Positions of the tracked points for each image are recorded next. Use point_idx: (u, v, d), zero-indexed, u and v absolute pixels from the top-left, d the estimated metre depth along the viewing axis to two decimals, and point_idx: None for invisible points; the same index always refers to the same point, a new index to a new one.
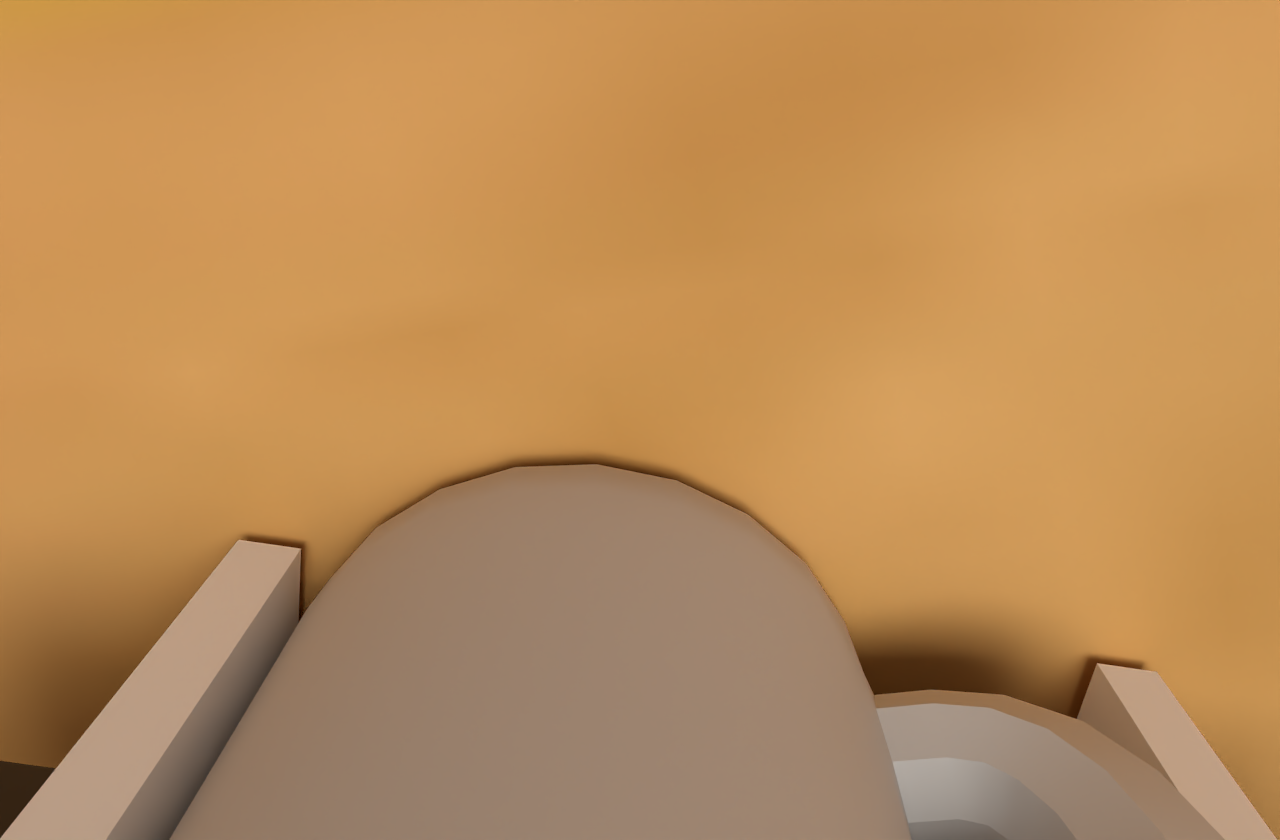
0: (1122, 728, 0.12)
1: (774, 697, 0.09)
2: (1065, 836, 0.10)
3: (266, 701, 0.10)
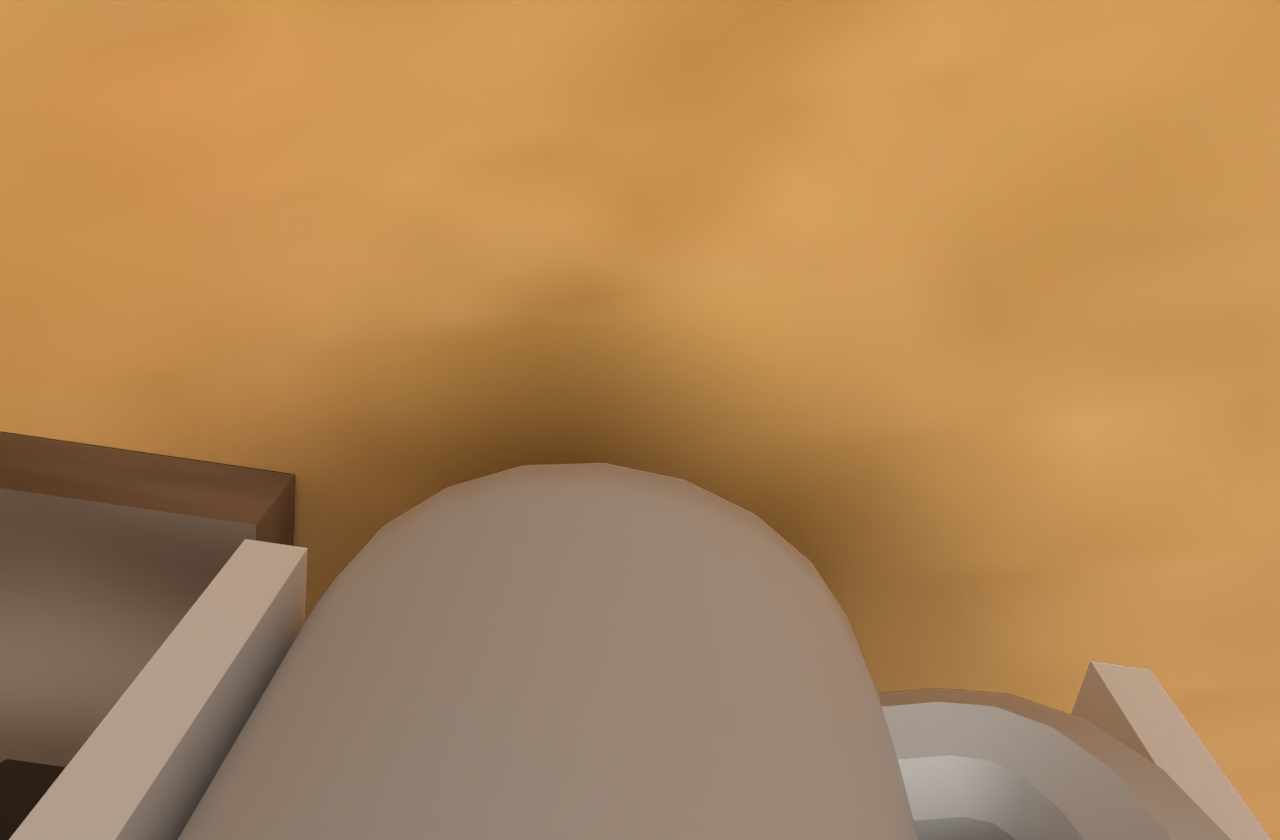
0: (1116, 725, 0.12)
1: (783, 694, 0.09)
2: (1070, 834, 0.10)
3: (277, 696, 0.10)
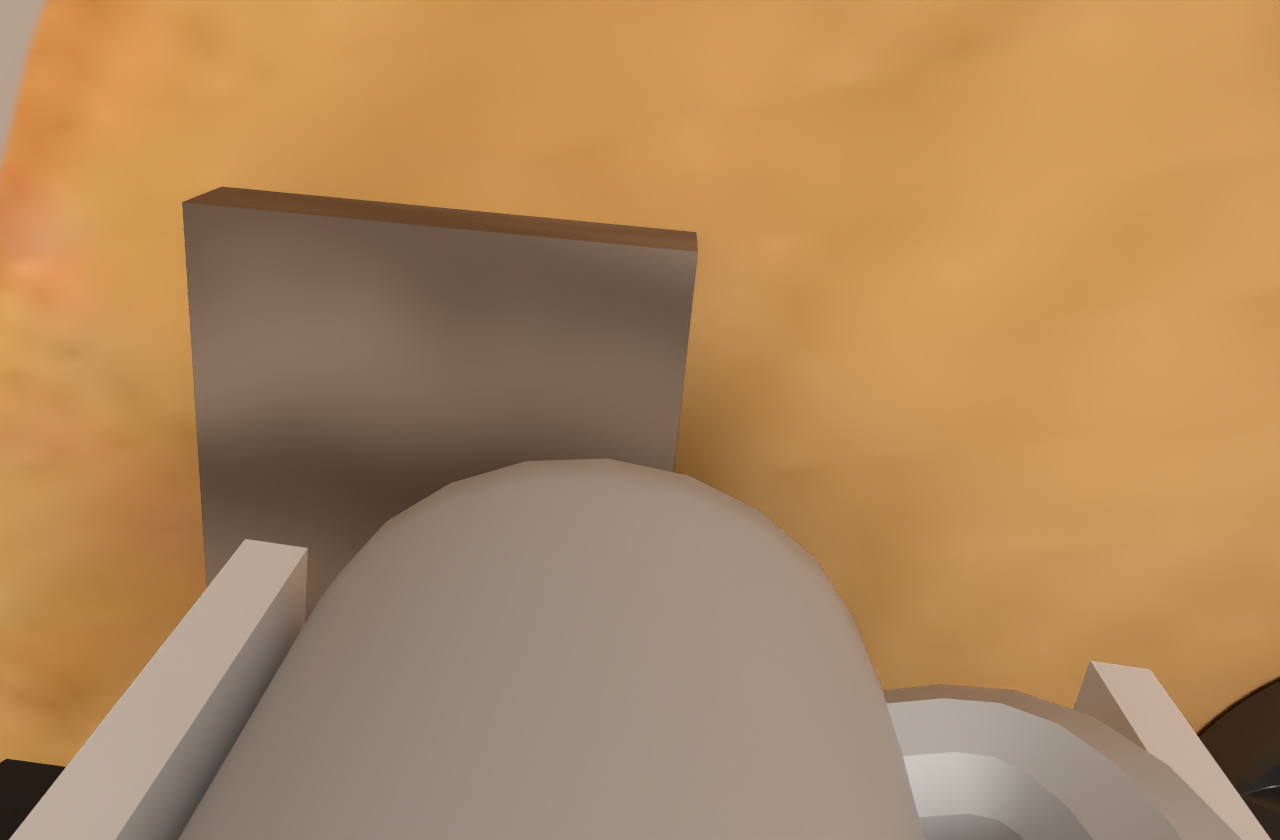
0: (1116, 725, 0.12)
1: (788, 690, 0.09)
2: (1077, 830, 0.10)
3: (280, 692, 0.10)
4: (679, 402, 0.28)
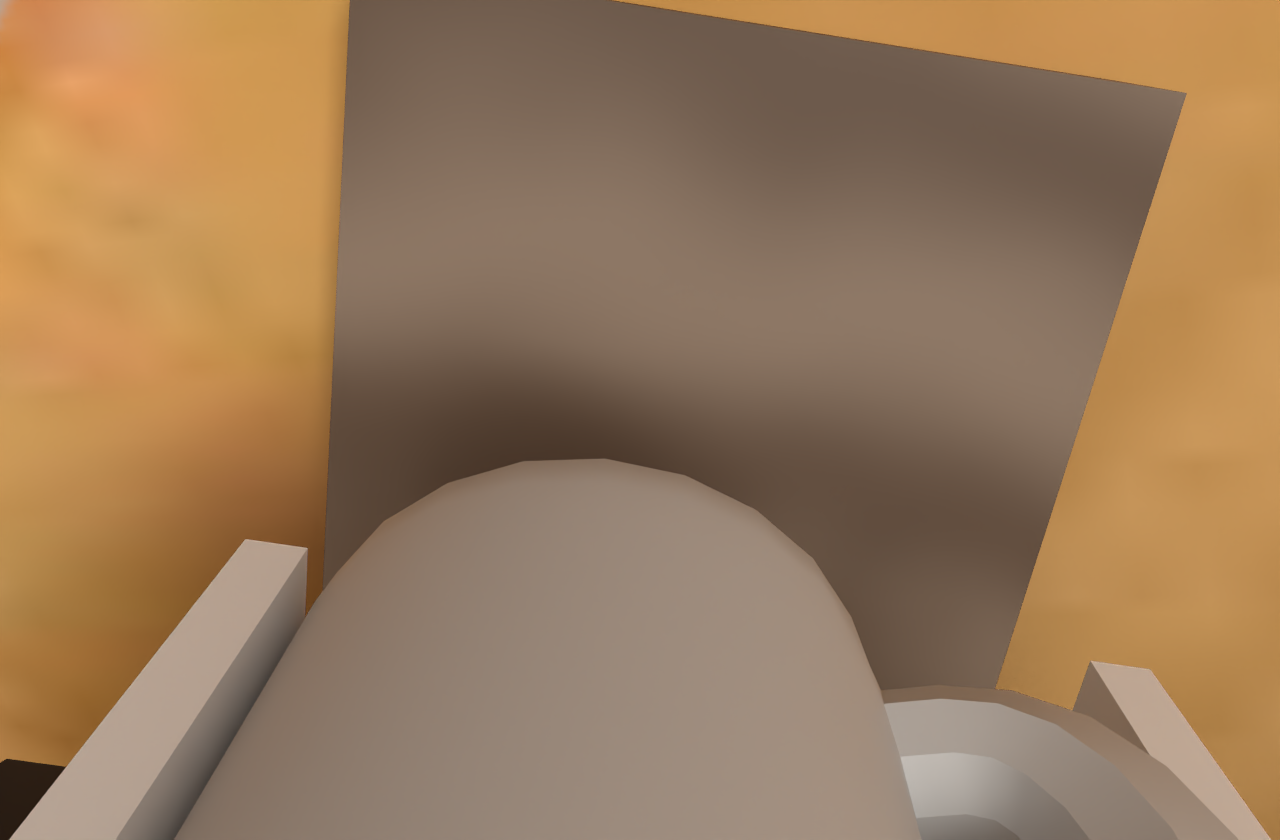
0: (1115, 725, 0.12)
1: (785, 690, 0.09)
2: (1074, 831, 0.10)
3: (276, 693, 0.10)
4: (1104, 340, 0.18)
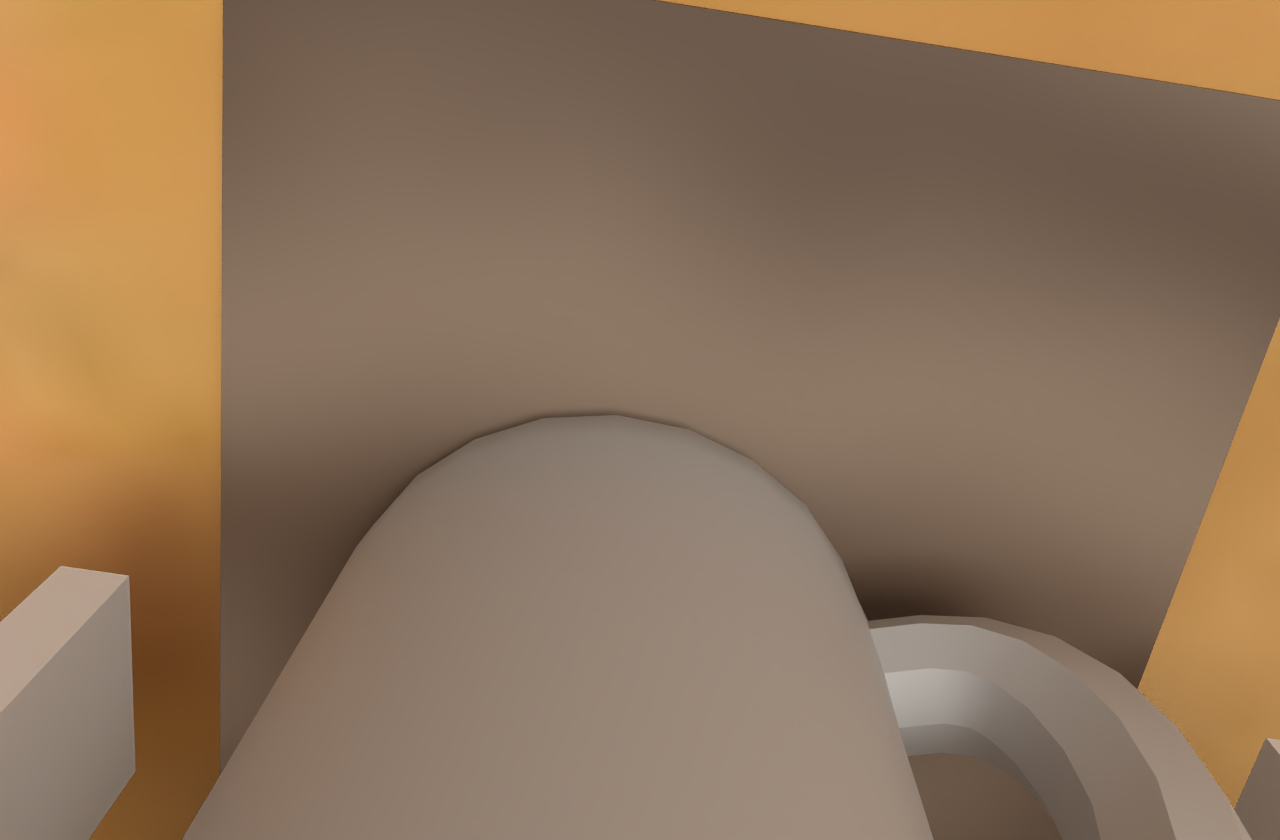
0: None
1: (777, 598, 0.10)
2: (1035, 727, 0.11)
3: (330, 611, 0.11)
4: (1230, 435, 0.14)
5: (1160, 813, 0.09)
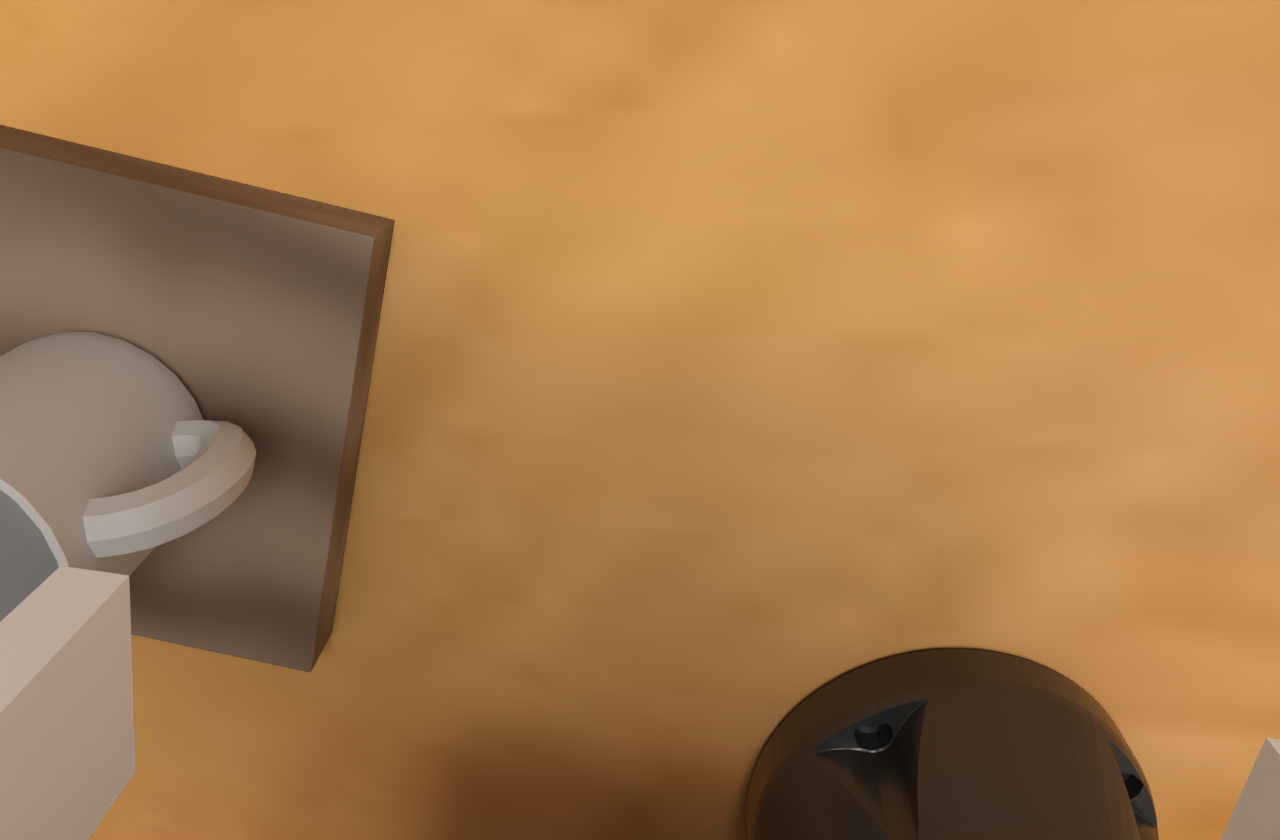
0: None
1: (94, 394, 0.30)
2: (199, 451, 0.31)
3: None
4: (354, 362, 0.33)
5: (190, 464, 0.29)
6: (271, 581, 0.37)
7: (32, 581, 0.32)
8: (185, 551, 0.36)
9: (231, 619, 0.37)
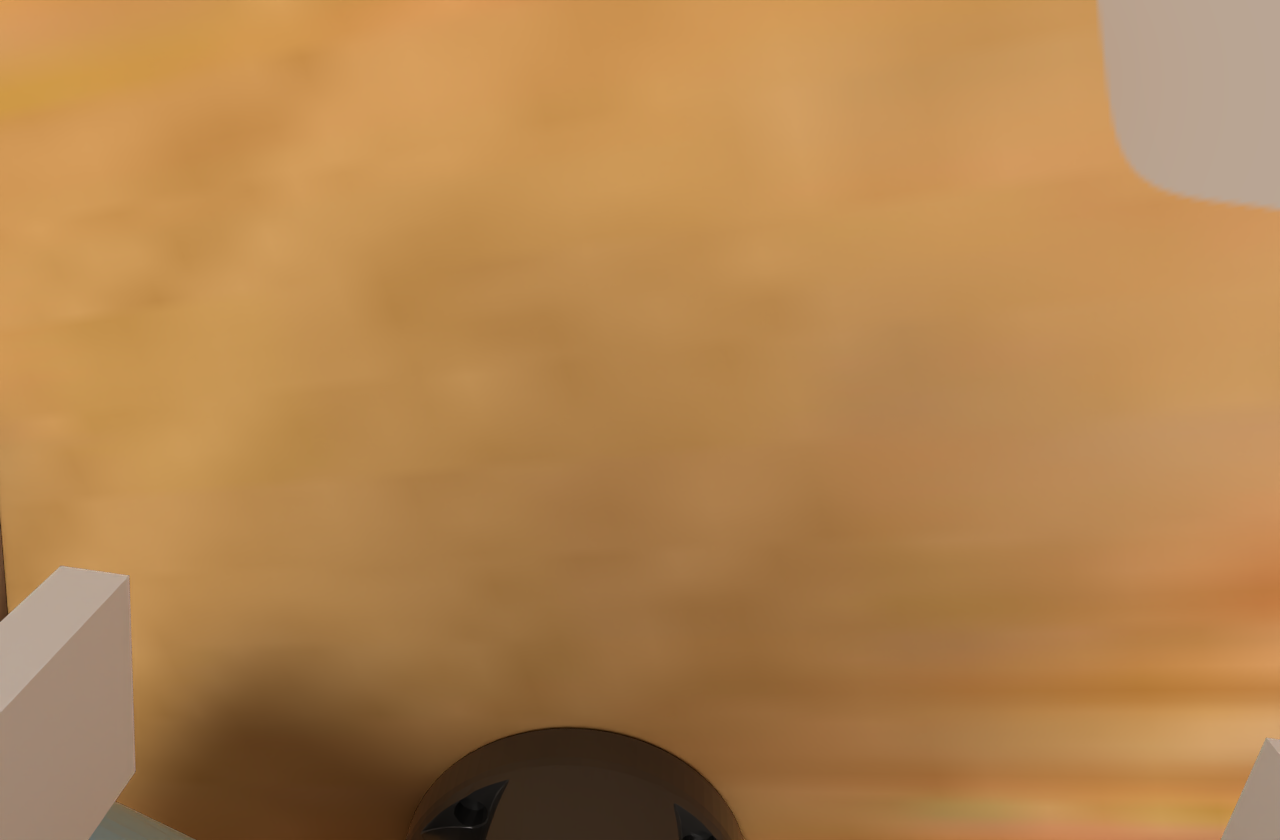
0: None
1: None
2: None
3: None
4: None
5: None
6: None
7: None
8: None
9: None
